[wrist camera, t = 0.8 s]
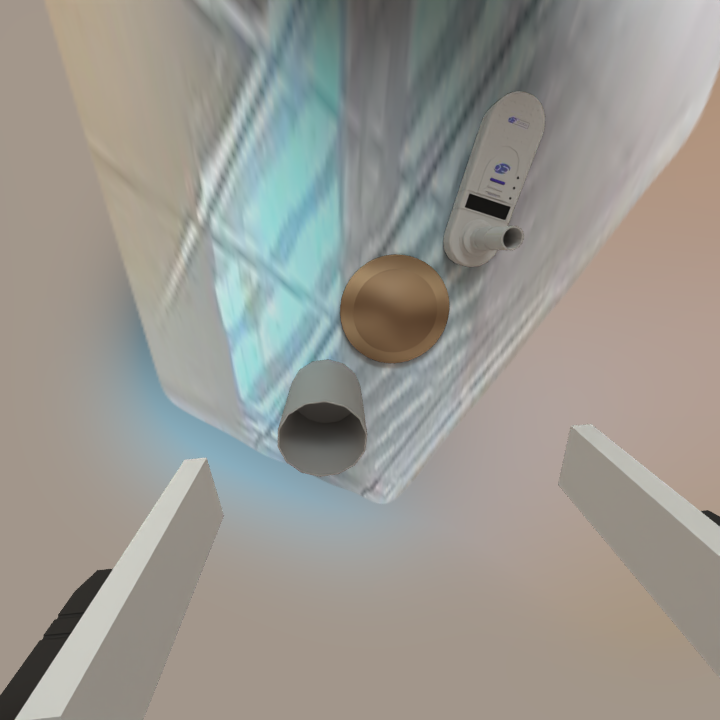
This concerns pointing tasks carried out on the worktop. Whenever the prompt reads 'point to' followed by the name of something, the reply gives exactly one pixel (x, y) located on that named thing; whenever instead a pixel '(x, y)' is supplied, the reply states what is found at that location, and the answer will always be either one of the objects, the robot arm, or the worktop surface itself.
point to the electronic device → (494, 181)
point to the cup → (323, 420)
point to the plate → (394, 308)
